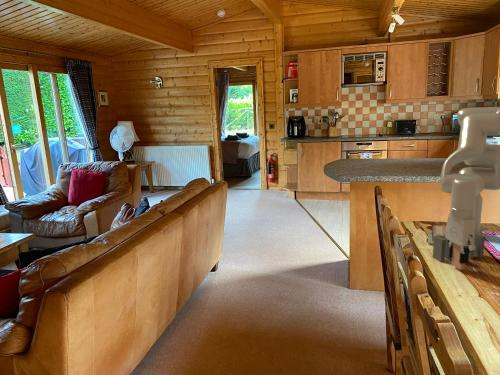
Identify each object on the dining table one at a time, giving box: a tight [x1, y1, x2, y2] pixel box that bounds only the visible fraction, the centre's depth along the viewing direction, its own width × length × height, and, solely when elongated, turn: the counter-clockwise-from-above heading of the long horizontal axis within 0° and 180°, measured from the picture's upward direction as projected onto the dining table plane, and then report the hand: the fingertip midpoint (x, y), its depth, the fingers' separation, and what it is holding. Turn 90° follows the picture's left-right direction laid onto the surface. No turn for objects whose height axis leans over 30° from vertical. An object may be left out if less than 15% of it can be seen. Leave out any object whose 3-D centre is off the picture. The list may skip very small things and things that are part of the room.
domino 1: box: [432, 236, 446, 263], centre depth 150 cm, size 2×5×9 cm, turn 9°
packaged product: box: [427, 224, 446, 246], centre depth 173 cm, size 18×5×10 cm
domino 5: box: [474, 232, 486, 259], centre depth 153 cm, size 2×5×9 cm, turn 9°
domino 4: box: [466, 240, 475, 260], centre depth 152 cm, size 2×5×9 cm, turn 9°
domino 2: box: [443, 235, 452, 262], centre depth 151 cm, size 2×5×9 cm, turn 9°
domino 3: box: [450, 243, 466, 271], centre depth 140 cm, size 2×5×9 cm, turn 9°
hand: (458, 259), depth 141 cm, fingers closed on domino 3, 4 cm apart
